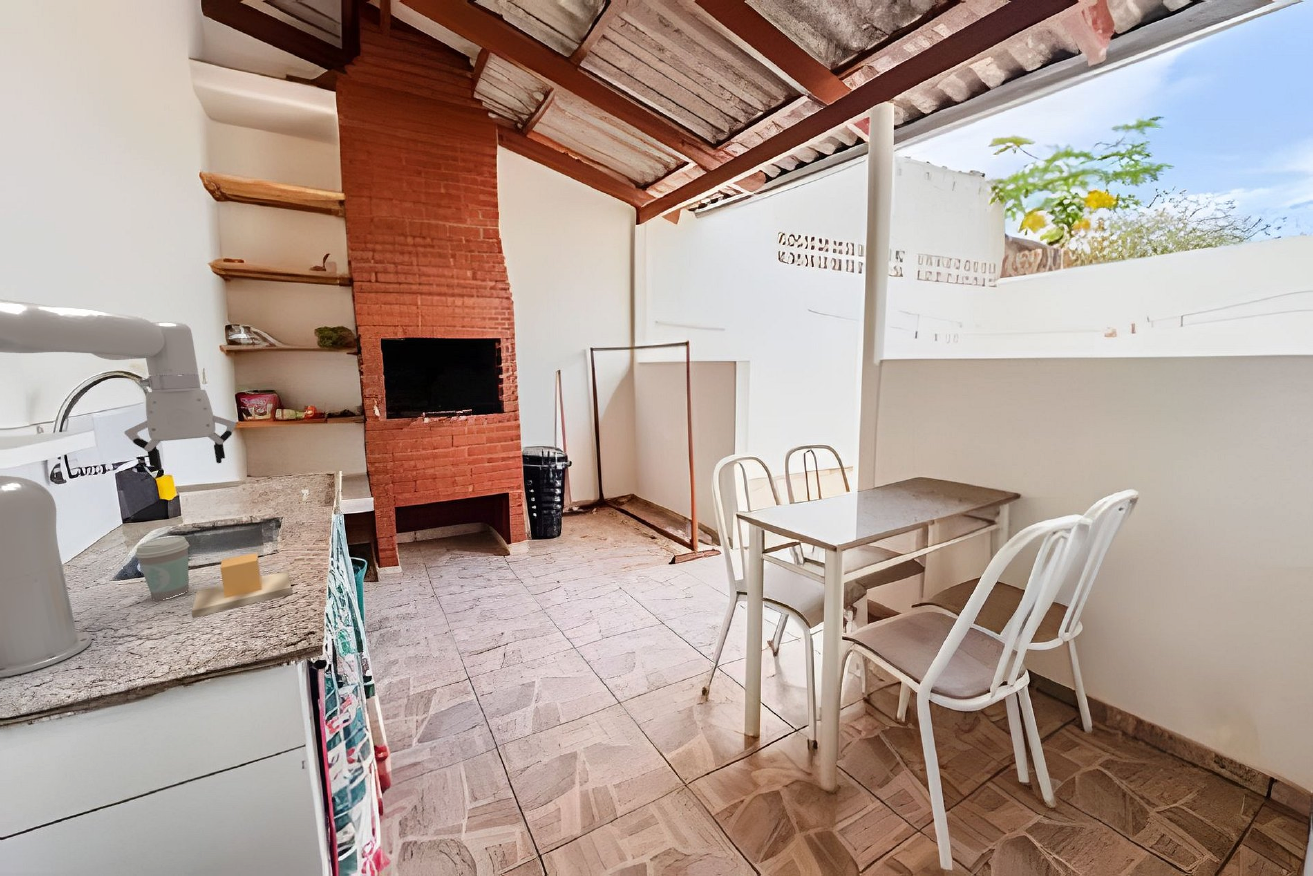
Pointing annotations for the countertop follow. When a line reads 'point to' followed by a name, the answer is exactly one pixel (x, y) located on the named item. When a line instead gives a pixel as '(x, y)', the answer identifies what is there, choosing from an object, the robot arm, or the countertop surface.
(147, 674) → the countertop surface
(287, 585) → the post board
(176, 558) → the coffee cup
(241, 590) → the tan matte cube
